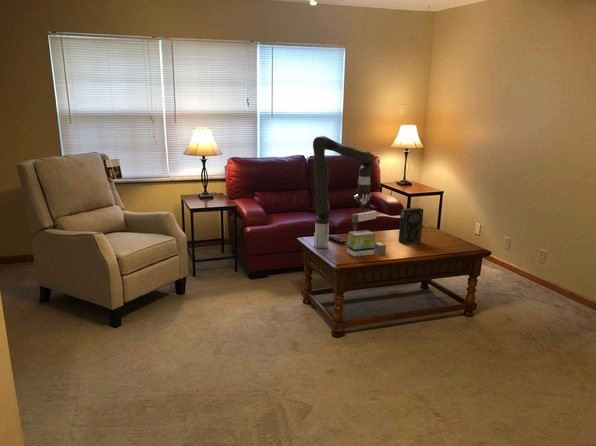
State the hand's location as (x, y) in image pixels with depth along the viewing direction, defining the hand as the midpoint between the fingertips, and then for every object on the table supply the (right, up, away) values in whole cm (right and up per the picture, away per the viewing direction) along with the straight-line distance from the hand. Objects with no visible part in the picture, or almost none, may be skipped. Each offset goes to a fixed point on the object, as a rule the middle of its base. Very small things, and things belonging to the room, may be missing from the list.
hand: (362, 209), depth 299 cm
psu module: (+12, -28, +10) cm, 33 cm away
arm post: (-4, -26, +18) cm, 32 cm away
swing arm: (+4, -7, +18) cm, 19 cm away
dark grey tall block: (+38, -23, +34) cm, 56 cm away
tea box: (0, -29, +7) cm, 30 cm away
